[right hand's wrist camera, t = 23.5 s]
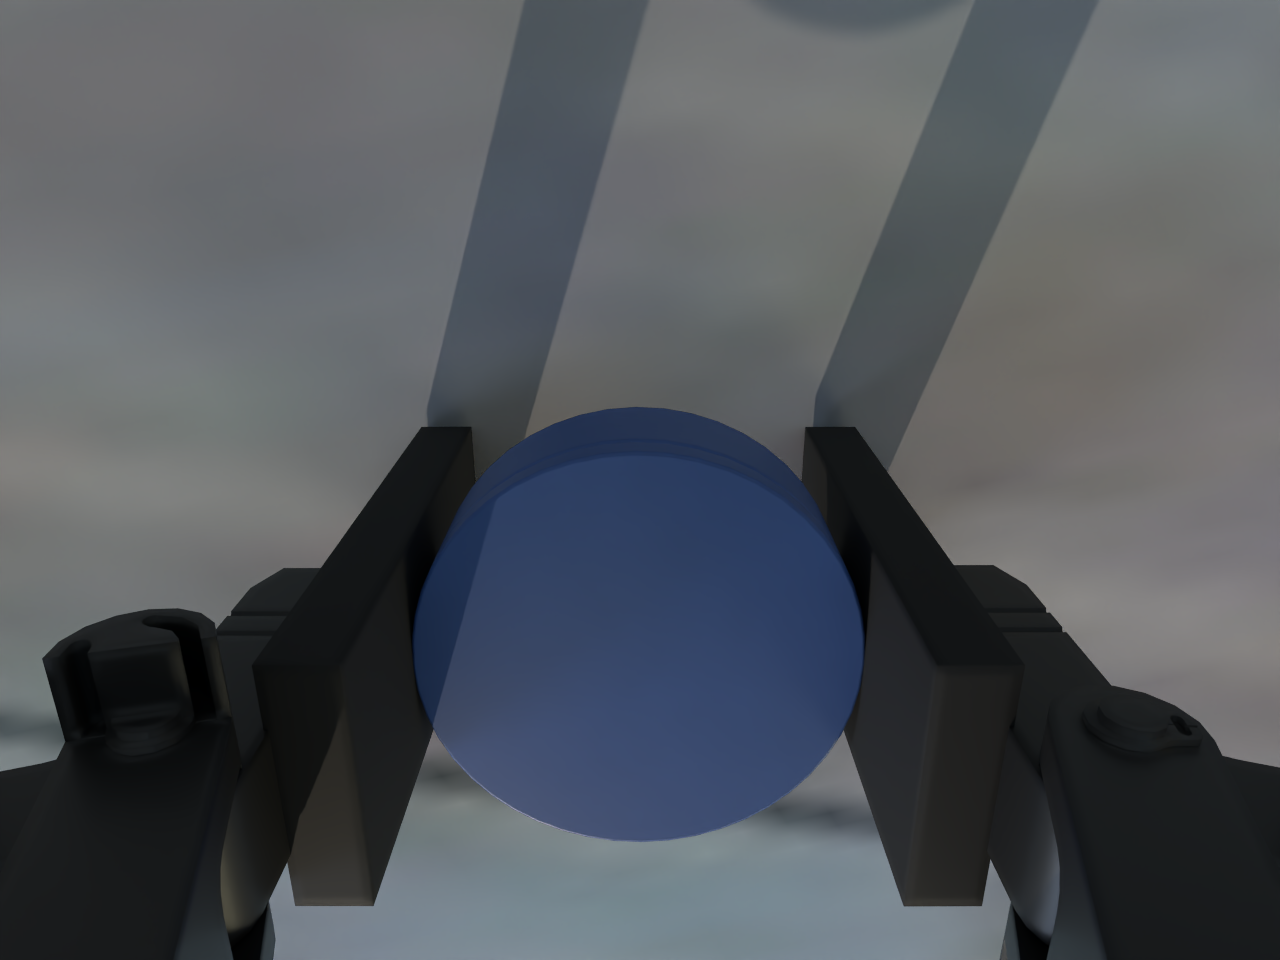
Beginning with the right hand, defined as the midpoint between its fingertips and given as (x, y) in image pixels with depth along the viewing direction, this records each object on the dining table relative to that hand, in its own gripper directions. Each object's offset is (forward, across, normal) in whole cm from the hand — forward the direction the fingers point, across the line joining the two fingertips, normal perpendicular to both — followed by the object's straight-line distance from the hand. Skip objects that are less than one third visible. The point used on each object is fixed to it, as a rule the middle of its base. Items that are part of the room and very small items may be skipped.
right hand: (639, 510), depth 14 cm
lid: (-4, 0, 0) cm, 4 cm away
